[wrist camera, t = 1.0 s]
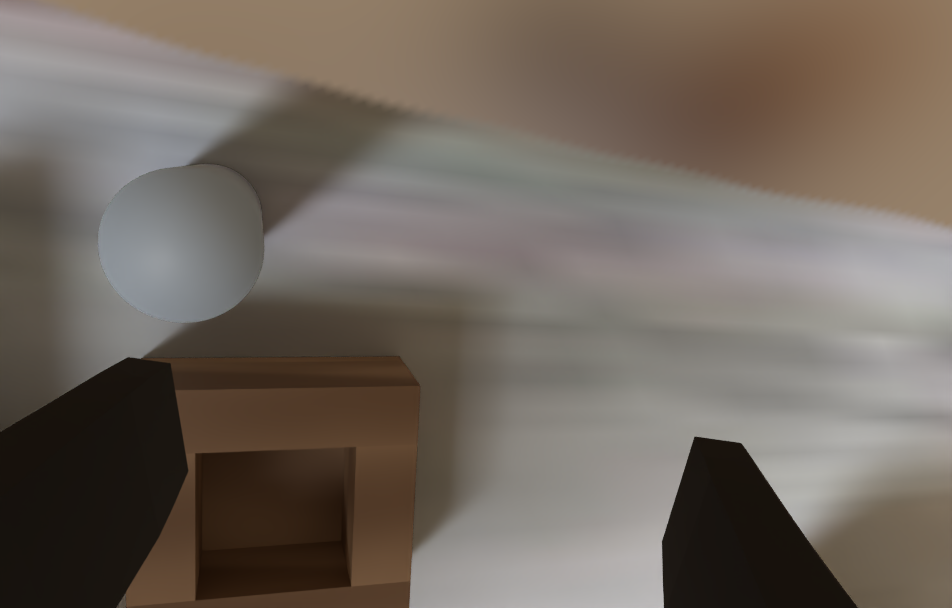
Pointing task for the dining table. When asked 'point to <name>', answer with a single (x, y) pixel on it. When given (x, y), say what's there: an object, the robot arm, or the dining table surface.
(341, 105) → the dining table surface
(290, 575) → the socket block
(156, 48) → the dining table surface
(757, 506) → the robot arm
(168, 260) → the dowel
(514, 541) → the dining table surface
